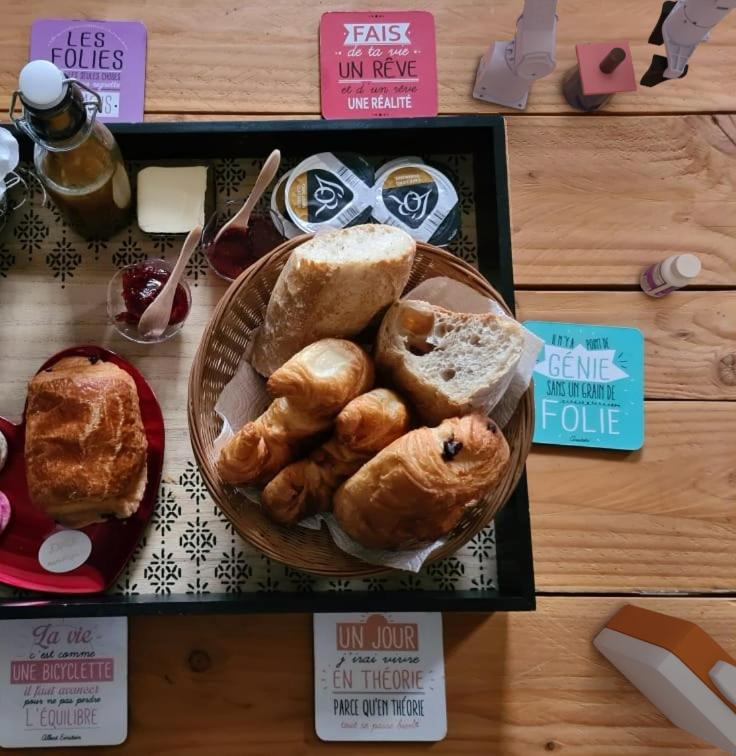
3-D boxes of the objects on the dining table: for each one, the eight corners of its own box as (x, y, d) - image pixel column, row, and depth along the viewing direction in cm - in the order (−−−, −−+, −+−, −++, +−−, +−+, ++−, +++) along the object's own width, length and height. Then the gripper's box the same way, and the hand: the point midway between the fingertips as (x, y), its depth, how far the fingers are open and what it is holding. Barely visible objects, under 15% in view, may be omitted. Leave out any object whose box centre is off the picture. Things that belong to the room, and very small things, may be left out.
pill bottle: (673, 275, 126) (710, 257, 116) (663, 302, 125) (699, 287, 115) (644, 262, 126) (679, 243, 117) (633, 289, 125) (667, 273, 116)
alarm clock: (711, 685, 116) (815, 727, 95) (675, 727, 115) (773, 778, 94) (622, 600, 118) (706, 623, 97) (587, 640, 117) (664, 672, 96)
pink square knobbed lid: (583, 95, 124) (595, 81, 119) (574, 46, 125) (586, 31, 121) (635, 91, 124) (649, 77, 120) (626, 42, 125) (640, 27, 121)
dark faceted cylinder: (558, 105, 130) (575, 85, 124) (567, 63, 131) (585, 41, 125) (604, 116, 130) (624, 97, 124) (613, 74, 131) (633, 53, 125)
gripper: (722, 60, 106) (666, 109, 119) (738, -27, 108) (681, 30, 121) (674, 49, 106) (623, 98, 119) (690, -39, 108) (639, 20, 121)
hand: (649, 63), depth 120 cm, fingers open, 7 cm apart
